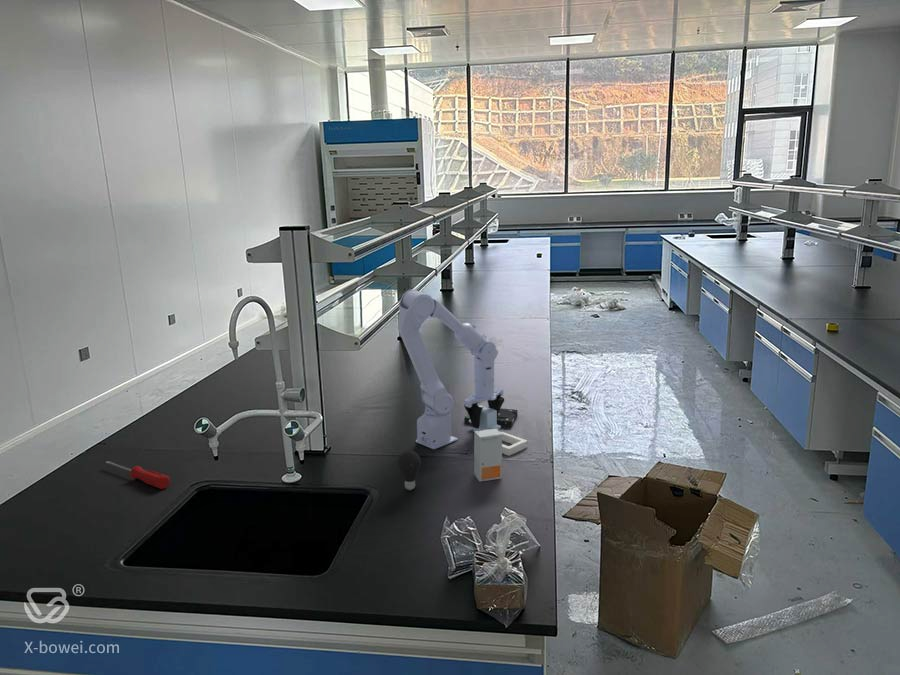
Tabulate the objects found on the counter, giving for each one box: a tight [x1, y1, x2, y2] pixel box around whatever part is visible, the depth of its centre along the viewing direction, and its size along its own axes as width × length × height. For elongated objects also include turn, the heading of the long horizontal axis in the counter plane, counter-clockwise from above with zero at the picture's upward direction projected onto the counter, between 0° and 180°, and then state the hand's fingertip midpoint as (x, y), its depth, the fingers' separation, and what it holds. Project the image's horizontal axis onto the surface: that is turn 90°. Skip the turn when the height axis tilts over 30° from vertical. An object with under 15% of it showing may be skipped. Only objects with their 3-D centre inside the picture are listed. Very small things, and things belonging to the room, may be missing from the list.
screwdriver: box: [105, 460, 171, 490], centre depth 163 cm, size 4×25×4 cm, turn 59°
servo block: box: [469, 405, 502, 432], centre depth 187 cm, size 4×10×8 cm, turn 44°
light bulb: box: [397, 449, 422, 491], centre depth 153 cm, size 6×6×10 cm
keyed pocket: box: [499, 431, 528, 457], centre depth 177 cm, size 8×10×2 cm
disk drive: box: [463, 406, 519, 429], centre depth 197 cm, size 10×3×15 cm
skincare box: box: [473, 429, 503, 483], centre depth 158 cm, size 6×4×12 cm
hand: (484, 424), depth 188 cm, fingers open, 7 cm apart
